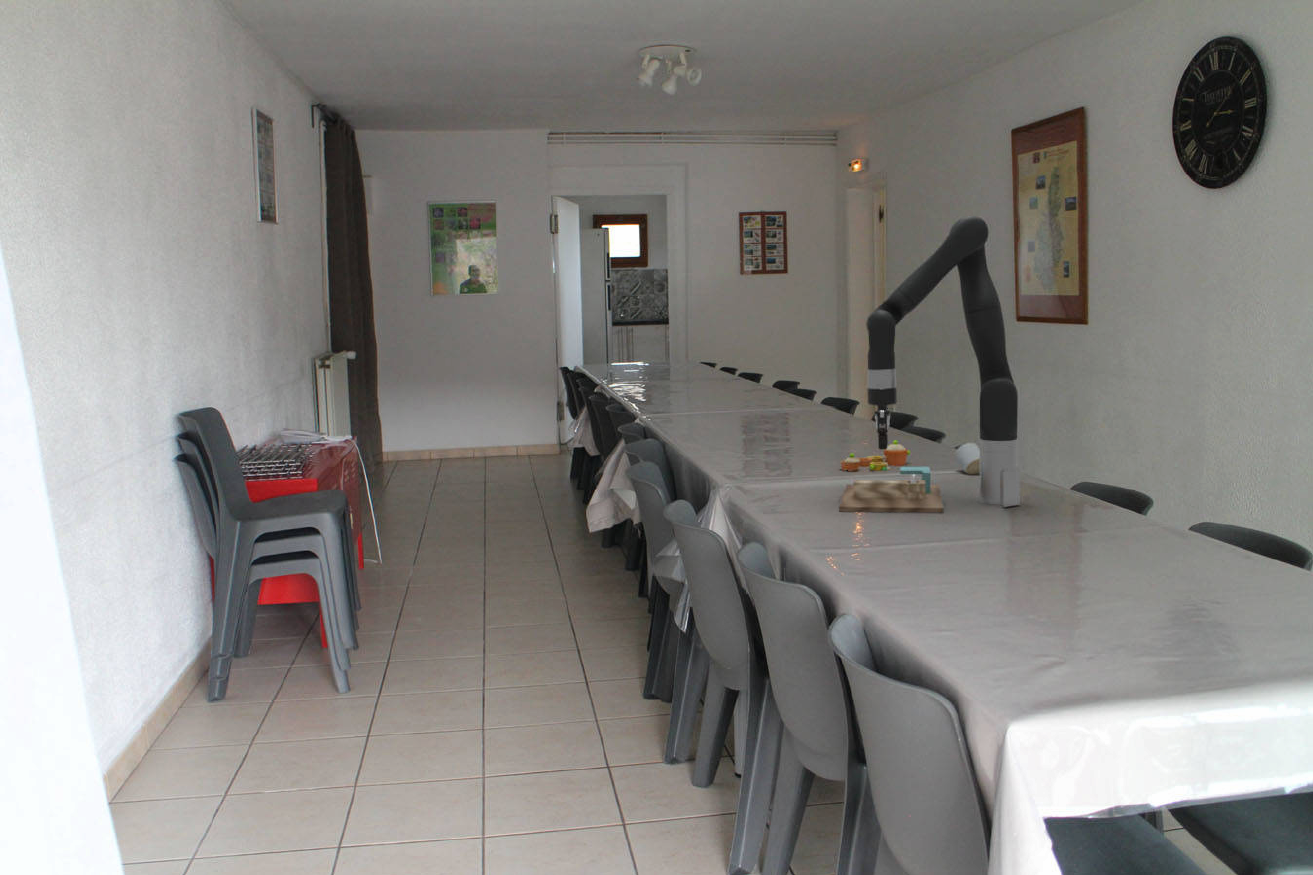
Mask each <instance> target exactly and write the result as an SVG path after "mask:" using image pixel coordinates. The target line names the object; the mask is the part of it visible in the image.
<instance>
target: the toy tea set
mask: <svg viewBox="0 0 1313 875" xmlns="http://www.w3.org/2000/svg"><path fill="white" fill-rule="evenodd" d="M898 443H899V442H898V440H897V439H895V440H893V442H892V444H889V445H887V449H883V455H869V456H866V457H862V458H861V457H860V458H859V457H855V454H854V453H850V454H849V457H846V458H845V459H844V460H841V461H840V465H841V470H842V471H843V470H848V471H847V472H855V471H854V470H858V471H859V468H860V467H859V466H861V468H866V467H868V466H869V467H868V468H869V469H870V470H871V471H873V470H874V471H873V472H885V471H884V470H886V471H888V470H889V469H890V470H891V467H904V466H906V464H907V463H906V462H907V457H908V456H910V455H911V451H910V450H908V449H907V448H905V447H904V446H903V445H901V444H898ZM884 461H885V462H884ZM889 466H891V467H889ZM850 470H851V471H850Z"/></svg>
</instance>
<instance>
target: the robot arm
mask: <svg viewBox="0 0 1313 875" xmlns="http://www.w3.org/2000/svg"><path fill="white" fill-rule="evenodd" d="M988 238H989V227H988V225H987V223H986V221H985V220H984V219H983V218H981V217H979V216H977V215H966V216H964V217H962V218H959V219H958V220H957V221H955V223H954V224H953V225H952V226H951V228H950V231H949V233H948V235H947V237H946V238H945V240H944V241H943V243H942V244H941V245H940V246H939V247H938V248H937V249H936V251H935V252H934V253H932V255H931V256H929V257H928V258H927V259H926V260H925V261H924V262H923V263H922V264H921V265H920V266H919V267H918V268H916V269H915V270H914V271H913V272H912V273H911V274H910V275H908V277H907V278H906V279H905V280H904V281H902V282H901V284H900V285H899V286H897V288H896V289H895V290H894V291H893V292H892V293H891V294H890V295H889V297H888V298H887V299H885V300H884V301H883V302H882V303H881V304H879V306H877V308H876V309H874V310H873V311H872V312H871V313H870V314H869V315H868V317H867V319H866V323H865V324H866V330H867V332H868V333H867V334H868V352H867V377H866V378H867V379H866V381H867V383H866V384H867V385H866V387H867V404H868V405H870V406H876V407H877V410H875V411H874V419H875V428H877V430H876V431H877V432H876V433H877V435H878V450H884V449H887V447H888V444H889V442H888V440H889V439H888V438H889V437H888V433H889V432H888V431H889V428H890V419H891V411H890V410H889V407H888V406H890V405H891V406H892V405H895V404H897V402H898V396H897V395H898V393H897V390H898V389H897V375H896V374H897V373H896V355H895V354H896V353H895V340H896V326H897V325H898V324H899V323H900V322H901V321H902V320H903V319H904V317H906V315H909V314H910V313H911V312H913V311H914V310H915V309H916V308H917V307H918V306H919V305H920V304H921V303H922V302H923V301H924V300H925V299H926V298H927V297H928V296H929V295H930V294H931V292H933V290H934V289H935V288H936V287H937V286H938V285H939V283H940V282H942V280H943V279H944V278H945V277H946V276H947V275H948V274H949V273H950V272H951V271H952V270H954V268H955V267H957V270H958V275H959V282H960V285H959V286H960V293H961V294H960V295H961V300H962V308H963V313H964V320H965V325H966V329H967V330H966V331H967V332H968V333H967V334H968V336H969V340H970V343H971V345H972V346H971V347H972V348H973V351H974V354H975V356H976V361H977V364H978V370H979V371H978V372H979V379H980V380H979V381H980V382H979V383H980V393H979V449H980V474H979V502H980V503H982V504H987V505H998V506H999V505H1000V506H1002V508H1008V507H1013V506H1020V504H1021V503H1020V502H1021V500H1020V499H1021V498H1020V496H1021V491H1020V490H1021V469H1020V468H1018V414H1019V413H1018V405H1019V404H1018V403H1019V397H1018V396H1019V395H1018V394H1019V393H1018V389H1017V387H1016V386H1017V385H1016V384H1015V382H1014V379H1013V375H1012V373H1011V369H1010V364H1009V362H1008V361H1009V360H1008V357H1007V347H1006V346H1007V345H1006V343H1007V342H1006V332H1005V331H1006V330H1005V322H1004V317H1003V312H1002V307H1001V305H1002V304H1001V302H1000V297H999V295H998V292H997V288H996V287H995V285H994V282H993V279H992V277H991V275H990V272H989V270H988V269H989V268H988V263H987V256H986V247H985V246H986V245H985V244H986V242H988Z"/></svg>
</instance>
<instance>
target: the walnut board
mask: <svg viewBox="0 0 1313 875" xmlns="http://www.w3.org/2000/svg"><path fill="white" fill-rule="evenodd" d="M840 501H841V502H840V504H839V512H847V513H848V512H850V513H851V512H853V513H854V512H855V513H856V512H858V513H860V512H862V513H863V512H865V513H921V514H922V513H923V514H925V513H930V514H934V513H935V514H943V513H944V506H943V505H944V504H943V501H942V495H941V490H940V485H938V484H937V485H936V484H935V485H934V484H930V493H925V499H902V498H854V484H846V486H845V490H844V493H843V496H842V498H841V500H840Z"/></svg>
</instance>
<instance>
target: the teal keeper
mask: <svg viewBox="0 0 1313 875" xmlns="http://www.w3.org/2000/svg"><path fill="white" fill-rule="evenodd" d="M899 467H900V468H899V469H900V470H899V471H900V472H899V474H900V475H911V474H917V475H921V480H925V493H930V485H931V468H930V466H899Z"/></svg>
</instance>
